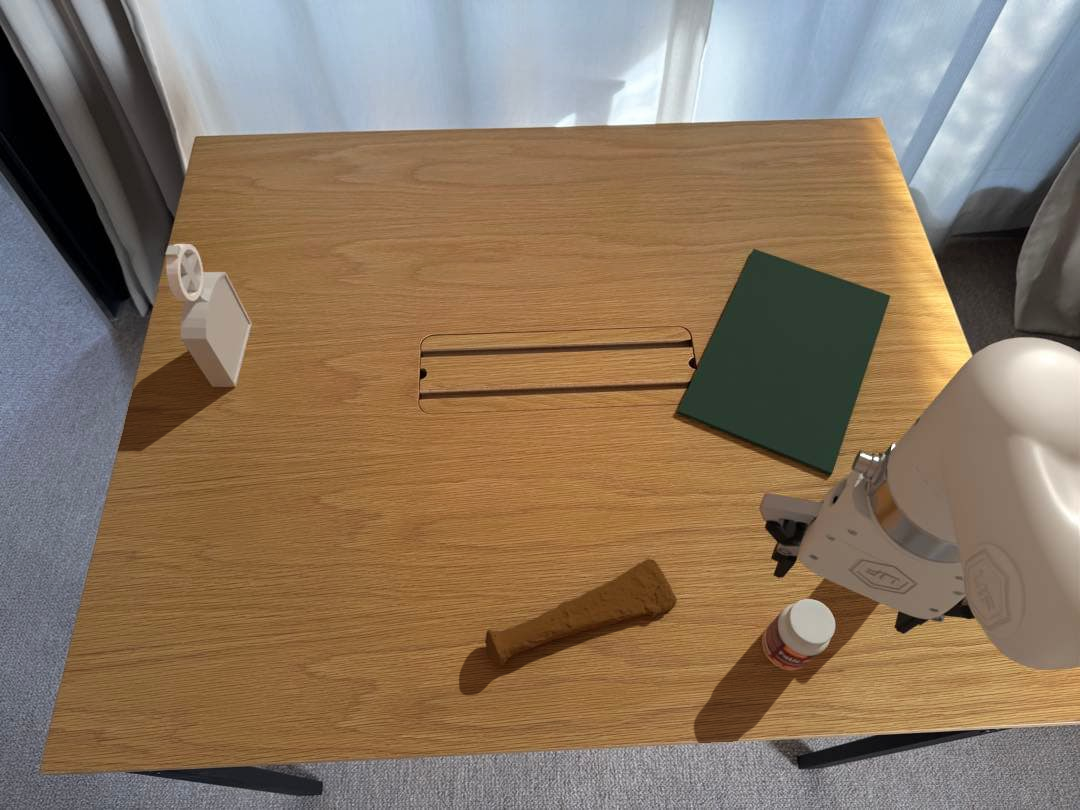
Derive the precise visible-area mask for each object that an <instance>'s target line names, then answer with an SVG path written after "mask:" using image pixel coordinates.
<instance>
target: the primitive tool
mask: <svg viewBox="0 0 1080 810" xmlns="http://www.w3.org/2000/svg"><path fill="white" fill-rule="evenodd" d="M676 604H677V597H676V595H675V594H674V592H673V589H672V587H671V584H670V583H669V581H668V580H667V578H666V576H665V574H664V573H663V571H662V569H661V567H660V566H659V563H657V562H656V560H655V559H653V558H651V559H650V558H648V559H646V560H644V561H642V562H639V563H637V564H636V565H635V566H633V567H631V568H629V569H628V570H627V571H624V572H623V573H622V574H620V575H619V576H617V577H615V578H614V579H611V580H609V581H608V582H606V583H604V584H602V585H600V586H598V587H595V588H593V589H591V590H588V591H587V592H585V593H583V594H581V595H580V596H578V597H576V598H572V599H571V600H564V601H563V602H561V603H560V604H558V606H557V607H555V608H554V609H553V608H552V609H551V610H548V611H545V612H544V613H542V614H540V615H539V616H537V617H535V618H532V619H529V620H527V621H525V622H522V623H520V624H516V625H515V626H512V627H508V628H505V629H503V630H491V629H488V630H487V631H486V633H485V639H484V643H485V648H484V649H485V651H486V653H487V655H488V657H489V659H490V662H491V663H492V664H493V665H495V666H497V667H499V668H503V666H504V665H505V663H506V662H507V661H508V659H509V658H510V657H511V656H514V655H517V654H519V653H521V652H523V651H527V650H529V649H533V648H534V647H537V646H540V645H543V644H546V643H549V642H551V641H555V640H558V639H561V638H565V637H568V636H571V635H574V634H578V633H580V632H584V631H587V630H591V629H596V628H599V627H607V626H609V625H616V624H617V623H618V622H623V621H626V620H629V619H634V618H639V617H642V616H644V617H645V616H648V615H650V616H651V617H656V616H657V615H658V614H661V613H667V612H669V611H670V609H672V608H674V607H675V606H676Z"/></svg>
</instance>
